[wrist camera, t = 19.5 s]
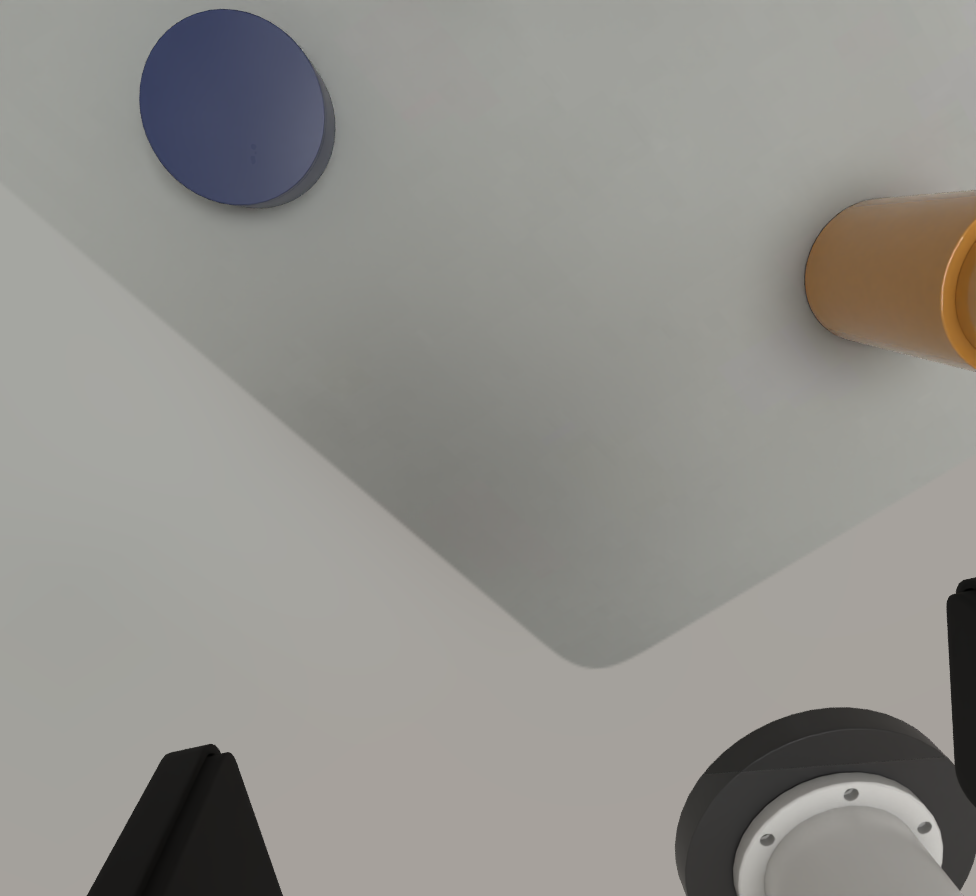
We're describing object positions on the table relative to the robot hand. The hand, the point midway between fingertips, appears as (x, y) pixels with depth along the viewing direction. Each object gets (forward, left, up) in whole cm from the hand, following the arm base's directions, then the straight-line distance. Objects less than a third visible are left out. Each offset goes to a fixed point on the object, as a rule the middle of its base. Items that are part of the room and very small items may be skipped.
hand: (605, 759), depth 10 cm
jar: (+4, -19, -27) cm, 33 cm away
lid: (+11, +9, -27) cm, 31 cm away
